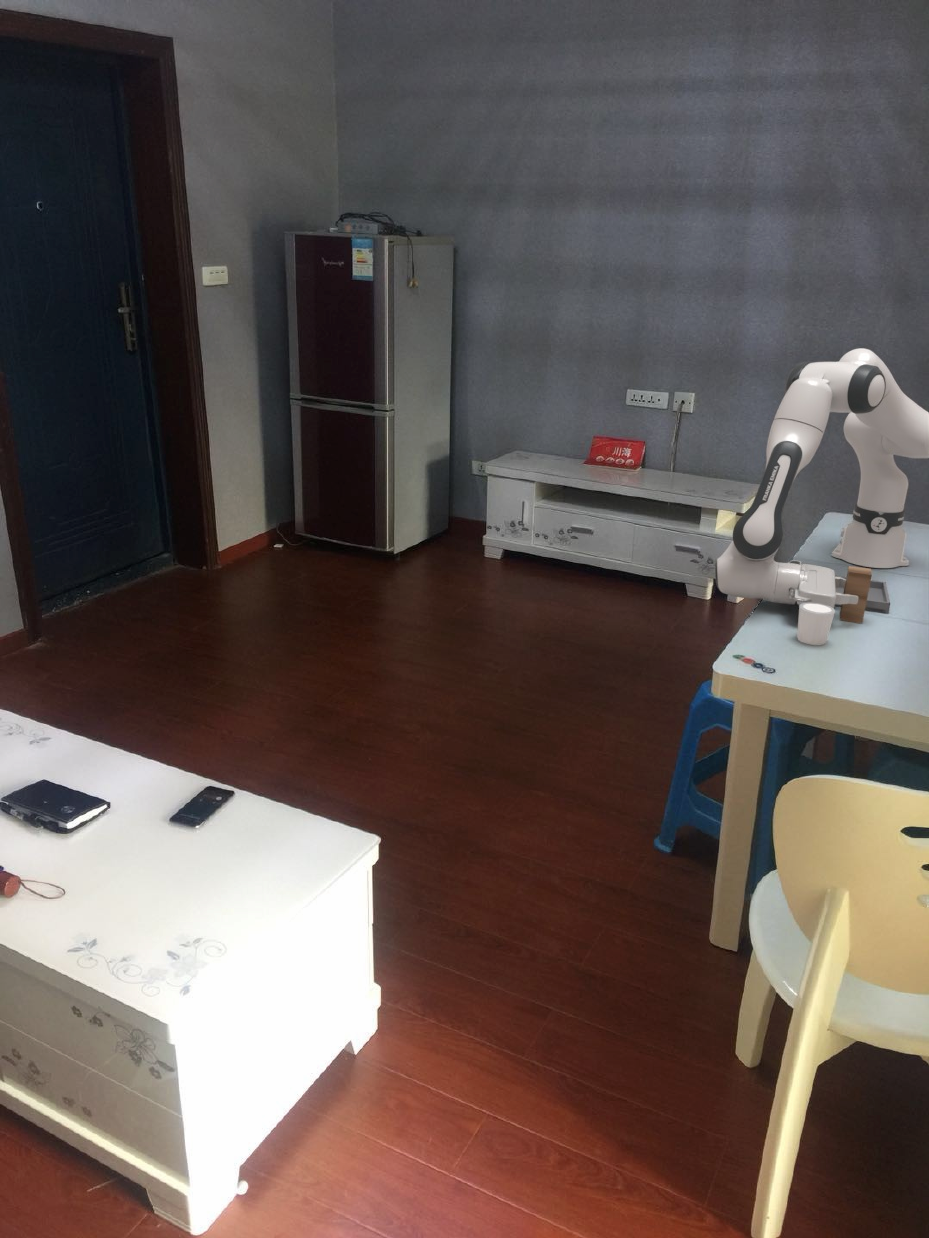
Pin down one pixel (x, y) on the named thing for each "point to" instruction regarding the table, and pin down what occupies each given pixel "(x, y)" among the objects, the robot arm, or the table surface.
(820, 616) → the white cup
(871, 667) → the table surface
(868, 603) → the charcoal tray
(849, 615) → the walnut block
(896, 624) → the table surface
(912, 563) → the table surface
